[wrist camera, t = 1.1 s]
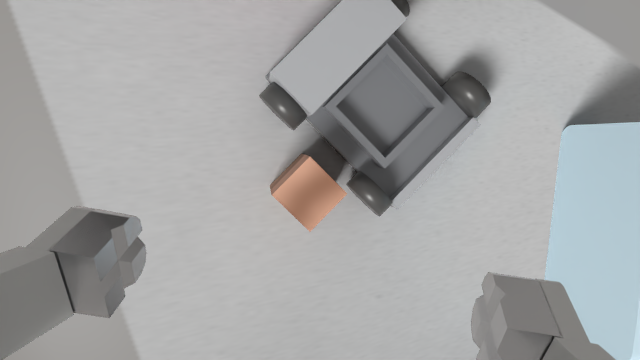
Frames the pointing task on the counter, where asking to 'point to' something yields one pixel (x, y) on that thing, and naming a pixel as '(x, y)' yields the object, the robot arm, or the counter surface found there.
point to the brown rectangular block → (307, 191)
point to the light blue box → (599, 232)
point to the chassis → (374, 100)
